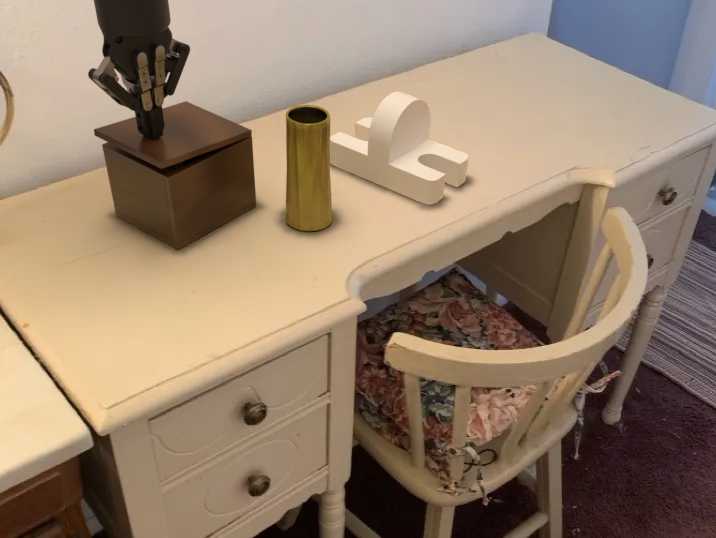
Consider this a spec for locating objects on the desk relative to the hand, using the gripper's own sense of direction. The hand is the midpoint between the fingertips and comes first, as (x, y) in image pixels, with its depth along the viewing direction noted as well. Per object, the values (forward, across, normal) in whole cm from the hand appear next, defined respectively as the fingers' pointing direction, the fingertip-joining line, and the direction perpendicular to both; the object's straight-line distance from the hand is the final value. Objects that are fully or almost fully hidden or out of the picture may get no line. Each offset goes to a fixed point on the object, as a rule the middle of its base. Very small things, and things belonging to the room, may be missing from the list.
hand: (152, 136), depth 98 cm
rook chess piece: (+11, -2, 0) cm, 11 cm away
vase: (+12, -13, +13) cm, 22 cm away
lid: (+1, -3, 0) cm, 3 cm away
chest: (+12, -4, 0) cm, 12 cm away
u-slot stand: (+12, -30, +14) cm, 36 cm away
